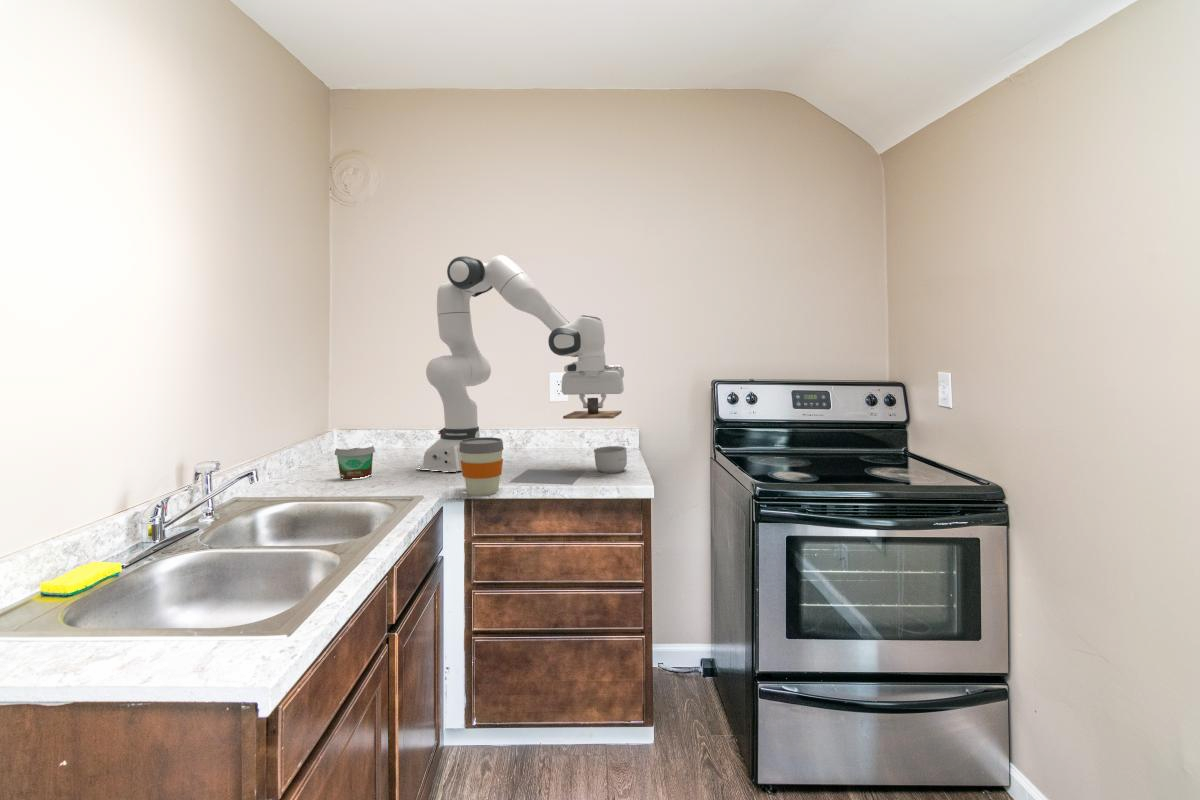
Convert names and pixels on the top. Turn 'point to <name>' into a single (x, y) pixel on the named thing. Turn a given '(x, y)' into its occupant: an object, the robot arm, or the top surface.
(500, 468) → the reusable coffee cup
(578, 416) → the walnut lid
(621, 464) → the teacup
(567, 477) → the rubber mat
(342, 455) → the food container
